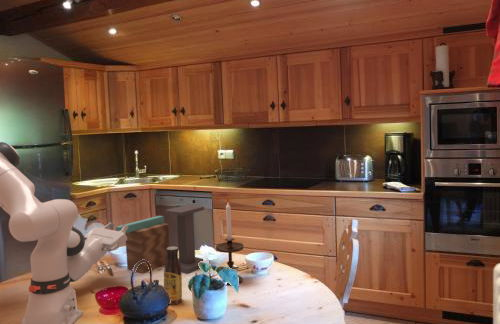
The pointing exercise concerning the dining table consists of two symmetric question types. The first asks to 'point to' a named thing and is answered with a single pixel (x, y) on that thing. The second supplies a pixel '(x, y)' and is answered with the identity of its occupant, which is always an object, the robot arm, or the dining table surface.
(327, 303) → the dining table surface
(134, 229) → the teal rod
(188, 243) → the dark grey pedestal stand
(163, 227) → the walnut block
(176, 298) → the sauce bottle
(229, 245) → the candlestick
